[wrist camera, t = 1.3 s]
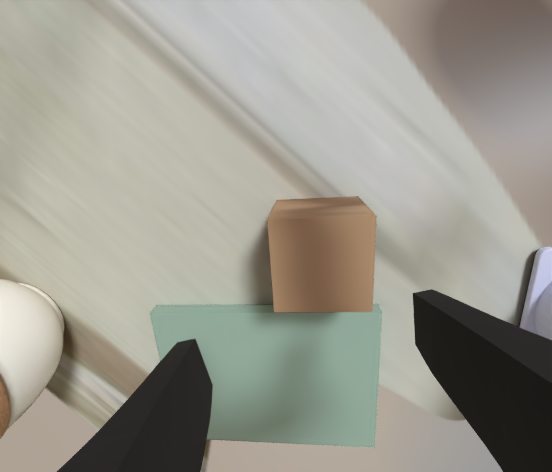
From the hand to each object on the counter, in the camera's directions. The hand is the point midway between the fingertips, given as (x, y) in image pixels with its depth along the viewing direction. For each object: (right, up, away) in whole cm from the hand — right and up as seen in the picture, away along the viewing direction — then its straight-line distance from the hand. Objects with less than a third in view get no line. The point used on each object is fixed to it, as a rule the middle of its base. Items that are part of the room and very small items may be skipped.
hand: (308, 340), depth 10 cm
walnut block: (+2, +3, +9) cm, 10 cm away
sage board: (-2, -7, +13) cm, 15 cm away
